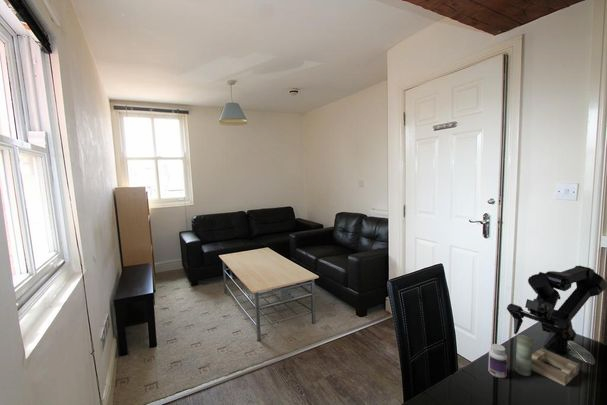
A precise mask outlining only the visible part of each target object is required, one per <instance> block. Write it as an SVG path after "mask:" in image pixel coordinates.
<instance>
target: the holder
mask: <svg viewBox="0 0 607 405" xmlns="http://www.w3.org/2000/svg"><path fill="white" fill-rule="evenodd" d="M579 366H580V363H577V362H575V361H573V360H571V359H568V358H566V357H565V356H562V355H561V356H560V354H557V353H555V352H553V351H550V350H548V349H545V348H542V347H541V348H539V349H538V350H536V351H534V353H533V352H532V364H531V371H534V372H535V373H537V374H539V375H541V376H543V377H546V378H548V379H550V380H552V381H554V382H556V383H558V384H560V385H562V386H564V387H565V386H567V384H569V383H570V382H571V381H572V380H573V379H574V378H575V377H576V376H577V375H578V374H579V370H580V369H579Z"/></svg>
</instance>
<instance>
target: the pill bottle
mask: <svg viewBox="0 0 607 405" xmlns="http://www.w3.org/2000/svg"><path fill="white" fill-rule="evenodd" d="M487 368H488V372H489V374H491V375H492V376H493V377H495V378H501V379H502V378H506V377H507V374H508V373H507V372H508V355H507V353H506V348H505V346H503V345H502V344H498V343H492V344H491V349H490V350H489V351H488V367H487Z"/></svg>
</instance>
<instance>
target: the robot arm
mask: <svg viewBox="0 0 607 405" xmlns="http://www.w3.org/2000/svg"><path fill="white" fill-rule="evenodd" d="M527 283H528V285H529V286H530V287H531V289H532V290H533V291H534V292H535V294H536V298H534V299H533V300H532V299H528V298H527V299H526V303H525V306H524V307H525V309H527V311H525V310H524V309H523V307H522V306H520V305H517V304H514V303H510V304H507V307H506V310H507V311H508V313H509V314H510V316H512V318H513V334H514V335H517V334H518V332H519V330H520V329H521V327H522V324H523V321H524V320H523V319H524V318H527V319H530V320H534V321H535V322H539V323H540V324H541V328H542V331H543V332H546V333H548V335H547V337H546V339H545V341H544V345H543V347H544V348H543V349H545V350H547V351H550V352H552V353H555V354H557V355H559V356H560V355H561V356H562V357H565V356H566V355H568V354H569V353H570V352H571V351H572V349H571V348H569V346H568V343H569V341H571V342H574V341H575V338H576V335H577V333H576V330H575V329H573V323H572V320H573V318H575V317H576V315H577V314H578V313H579V311H580V310H581V309H582V307H583V306H584V305H585V304H586V303H587V302H588V301H589V299H590V298H591V297H596V296H599V295H601V293H602V292H604V291H605V290H606V289H607V282H606V280H605V278H604V277H602V276H601V275H600V274H598V273H597V272H595V270H594V269H593V268H591V267H588V266H582V265H575V266H574V267H573V268H569V269H565V270H562V271H554V270H551V271H550V270H549V271H546V272H542V271H539V272H538V273H536V274H532V275H531V276H529V277H528V279H527ZM574 283H575V284H576V287H575V289H574V290H573V291H572V292H571V294H570V295H569V296H568V297H567V298H566V300H564V302H563V303H562V304H561V306H560V307H559V308H557V309H555V308H556V306H557V302H558V301H559V300H561V295H560V293H559V291H562V292H566V291H568V290H570V289H571V288H572V284H574ZM558 290H559V291H558Z"/></svg>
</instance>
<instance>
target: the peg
mask: <svg viewBox="0 0 607 405" xmlns="http://www.w3.org/2000/svg"><path fill="white" fill-rule="evenodd" d="M533 341H534V340H533V338H531V337H530V336H527V335H523V334H518V335H516V347H515V348H516V349H515V353H516V354H515V372H517V374H518V375H522V376H524V377H530V376H531V374H532V370H531V364H532V354H533V343H534V342H533Z"/></svg>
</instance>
